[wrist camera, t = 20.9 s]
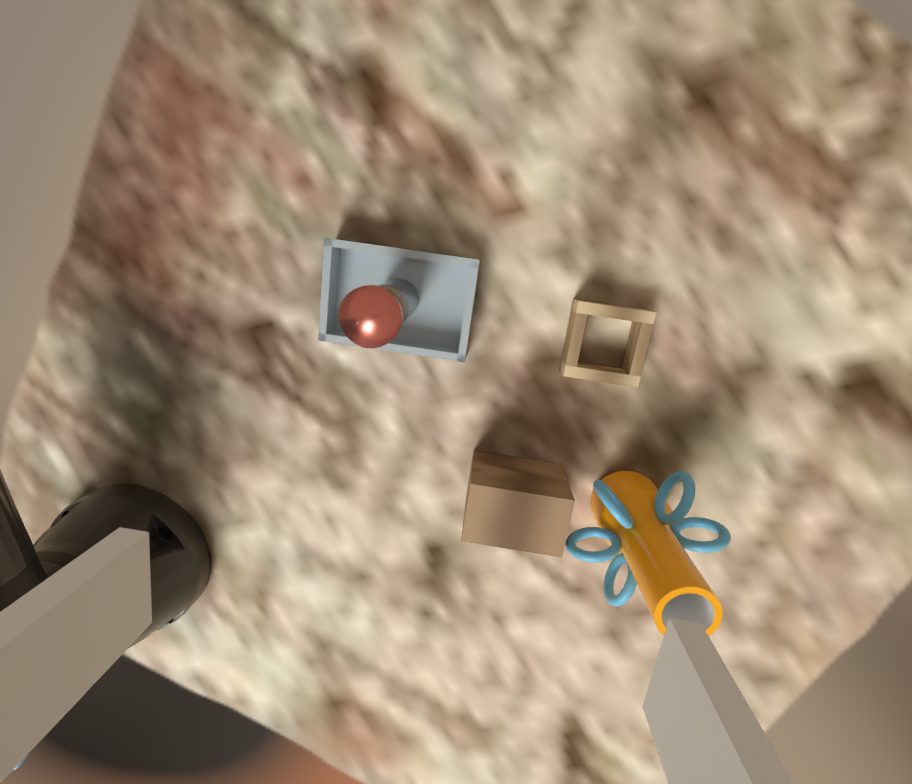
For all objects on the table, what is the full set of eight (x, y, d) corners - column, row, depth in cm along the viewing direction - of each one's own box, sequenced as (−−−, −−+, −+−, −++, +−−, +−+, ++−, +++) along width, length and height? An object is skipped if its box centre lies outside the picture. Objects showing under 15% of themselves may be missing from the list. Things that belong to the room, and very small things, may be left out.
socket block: (559, 369, 41) (563, 376, 39) (573, 298, 40) (578, 301, 37) (629, 380, 41) (638, 387, 39) (646, 309, 39) (656, 312, 37)
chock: (465, 499, 45) (461, 540, 38) (473, 449, 44) (470, 483, 37) (551, 513, 45) (561, 557, 38) (561, 463, 44) (574, 500, 37)
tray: (329, 335, 42) (318, 340, 39) (336, 239, 40) (324, 237, 37) (466, 355, 42) (464, 362, 39) (480, 260, 39) (479, 259, 37)
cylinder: (561, 556, 46) (593, 691, 31) (549, 454, 43) (578, 550, 29) (695, 544, 45) (793, 679, 30) (691, 438, 42) (796, 530, 28)
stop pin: (375, 318, 41) (337, 344, 30) (378, 272, 39) (340, 282, 29) (420, 324, 41) (397, 352, 30) (424, 278, 39) (403, 290, 29)
